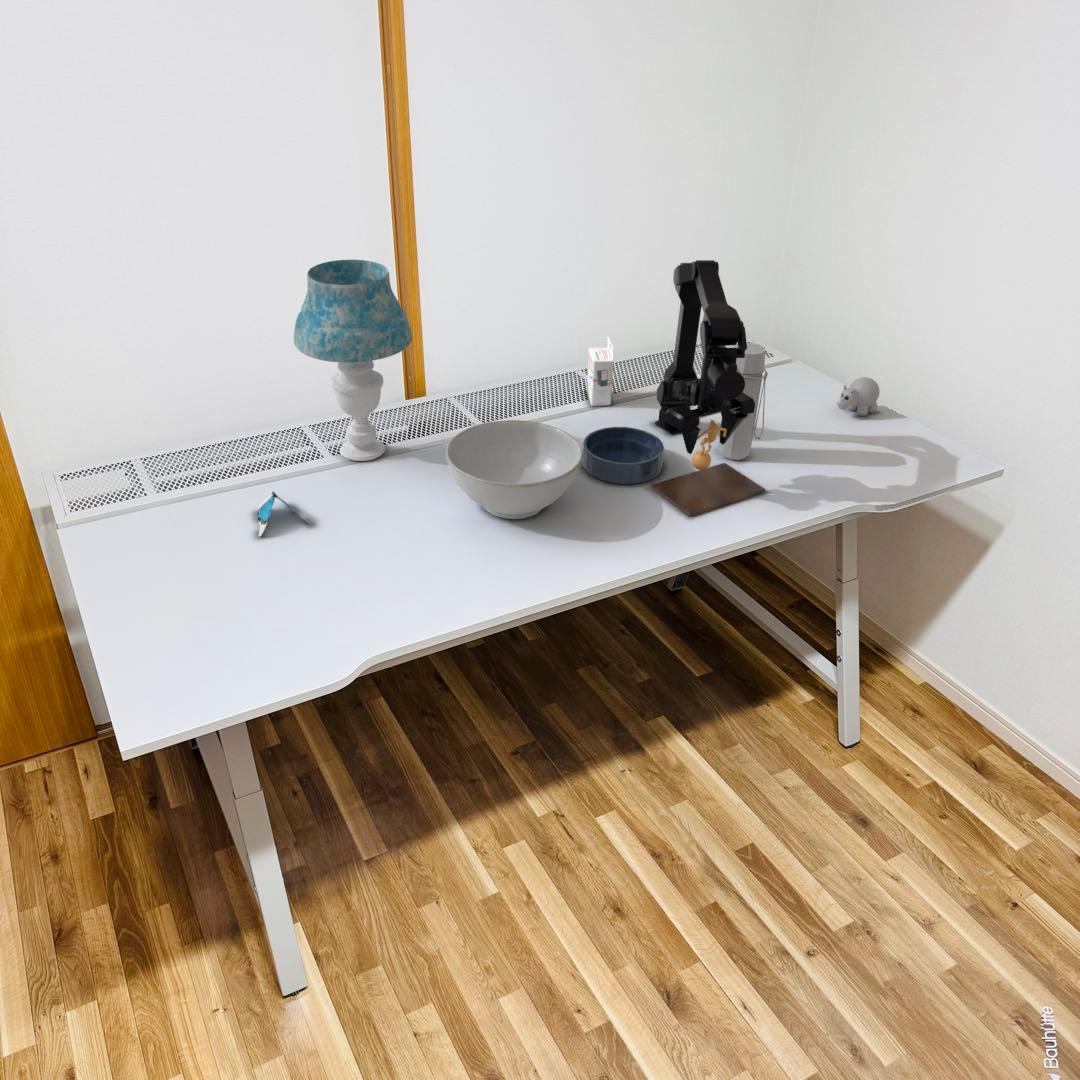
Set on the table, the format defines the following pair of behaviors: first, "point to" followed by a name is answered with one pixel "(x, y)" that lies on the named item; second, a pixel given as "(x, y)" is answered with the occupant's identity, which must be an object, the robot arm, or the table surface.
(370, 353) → the table lamp
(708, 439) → the figurine
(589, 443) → the basin
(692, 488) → the walnut board
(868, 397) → the chubby cartoon animal
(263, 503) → the decorative butterfly
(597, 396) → the ink box
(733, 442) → the water bottle
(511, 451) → the decorative bowl
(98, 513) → the table surface
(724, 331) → the robot arm
